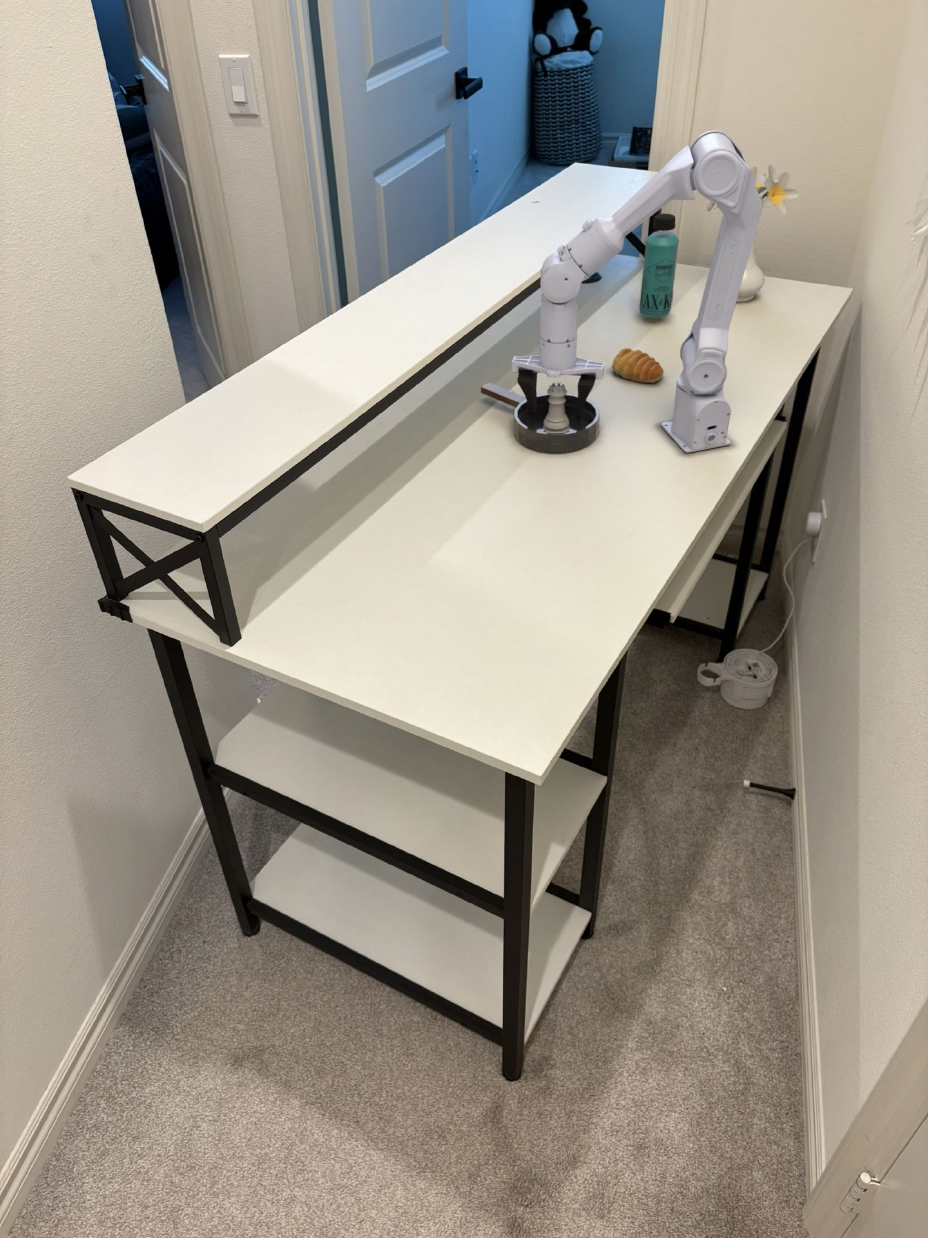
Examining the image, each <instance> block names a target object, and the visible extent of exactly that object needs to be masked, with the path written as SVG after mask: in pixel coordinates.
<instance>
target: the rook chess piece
mask: <svg viewBox="0 0 928 1238" xmlns="http://www.w3.org/2000/svg"><path fill="white" fill-rule="evenodd" d="M547 393H548V395H549V396H550V398H549V400H548V401H549V411H548V415H547V416H546V418H545V420H544V422H543V423H544V426H543V430H544V431H545V432H547V433H567V432H568V431H569V428H570V427H569V420H568V418H567V415H566V414H565V408H564V402H565V401H566V400H565V398H564V396H565V395H566V394H568V390H567V388H566V386H565V384H564V383H562V384H561V382H557V384H556V383H555V382H553V383H551V384H549V388H548V389H547V392H546V394H547Z"/></svg>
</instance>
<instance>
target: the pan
mask: <svg viewBox="0 0 928 1238" xmlns="http://www.w3.org/2000/svg"><path fill="white" fill-rule="evenodd" d="M549 398H550V396H549V395H548V393H547V392H546V393H542V394H537V410H536V412H535V415H530V410H529V408H527V409H526V403H527V400H524V401H523V402H521V403H520V404H519V405H518V406H517V407H516V408H515V409H514V410H513V435H514V436H515V438H516V439H517V441H518V442H519V443H521V444H522V445H523V446H525V447H526V448H529V449H530V450H533V451H536V452H541V453H546V454H566V453H572V452H576V451H579V450H582V449H584V448H587V447H588V446H590V445H591V444H592V443H593V442H594V441H595V440H596V439H597V437H598V435H599V434H600V421H601V420H600V418H601V417H600V416H601V415H600V409H599V407H598V406H597V405H596V404H595V402H593V401H592V400H590V399H588V398H587V399H586V401H585V404H584V407H583V414H582V417H581V419H576V413H577V405H578V394H574V393H573V394H572V393H567V394H566V395H565V396H564V398H565V400H566V401H565V402H564V408H565V414H566V415H567V418H568V420H569V427H570V428H569V431H568V432H567V433H547V432H545V431H544V430H543V426H544V423H543V422H544V420H545V418H546V416H547V415H548V411H549V401H548V400H549Z"/></svg>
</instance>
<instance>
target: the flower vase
mask: <svg viewBox="0 0 928 1238" xmlns="http://www.w3.org/2000/svg"><path fill="white" fill-rule="evenodd" d="M767 170H768V171H767V172H768V177H766V176H767V175H766V173H763V174H759V175H757V174H758V168H757V166H753V167H752V168H750V171H751V174H752V177H753V180H754V183H755V186H756V188H757V191H758V194H759V197H760V200H761V203H762V209H763V208H765V209H766V208H767V209H768V208H771V207H773V206H775V207H776V209H777V212H778V213H779V215H781V216H785V215H787V212H788V206H787V203H786V201H793V200H796V199H797V198H799V196H800V192H799V191H798V190H797V189H794V188H789V187H788V185H789V182H790V178H791V177H790V173H789V172H788V171H784V172H781V173H780V174H779V175H778V176H777V172H776V169H775V167H774V166H773V165H772V164H769V165H768V168H767ZM766 190H767V191H766ZM765 191H766V192H765ZM764 192H765V193H764ZM762 193H763V195H762V196H761V195H760V194H762ZM716 208H718V206H717V204H715V203H714V202H712V201H710V200H708V202H707V205H706V211H707V212H710V211H711V210H712V209H714V210H715V209H716ZM757 230H758V228H757V229H756V233H755V236H754V240H753V243H752V247H751V251H750V254H749V258H748V261H747V265H746V269H745V272H744V276H743V279H742V283H741V287H740V290H739V294H738V297H737V301H736V303H742V302H749V301H751V300H753V299H754V297H755V294H757V293H758V292H760V291H761V289H762V288H763V287H764V285H765V275H764V273H763V271H762V269H761V267H759V265H758V263H757V260H756V256H755V254H756V253H755V249H756V248H755V247H756V238H757Z"/></svg>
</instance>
